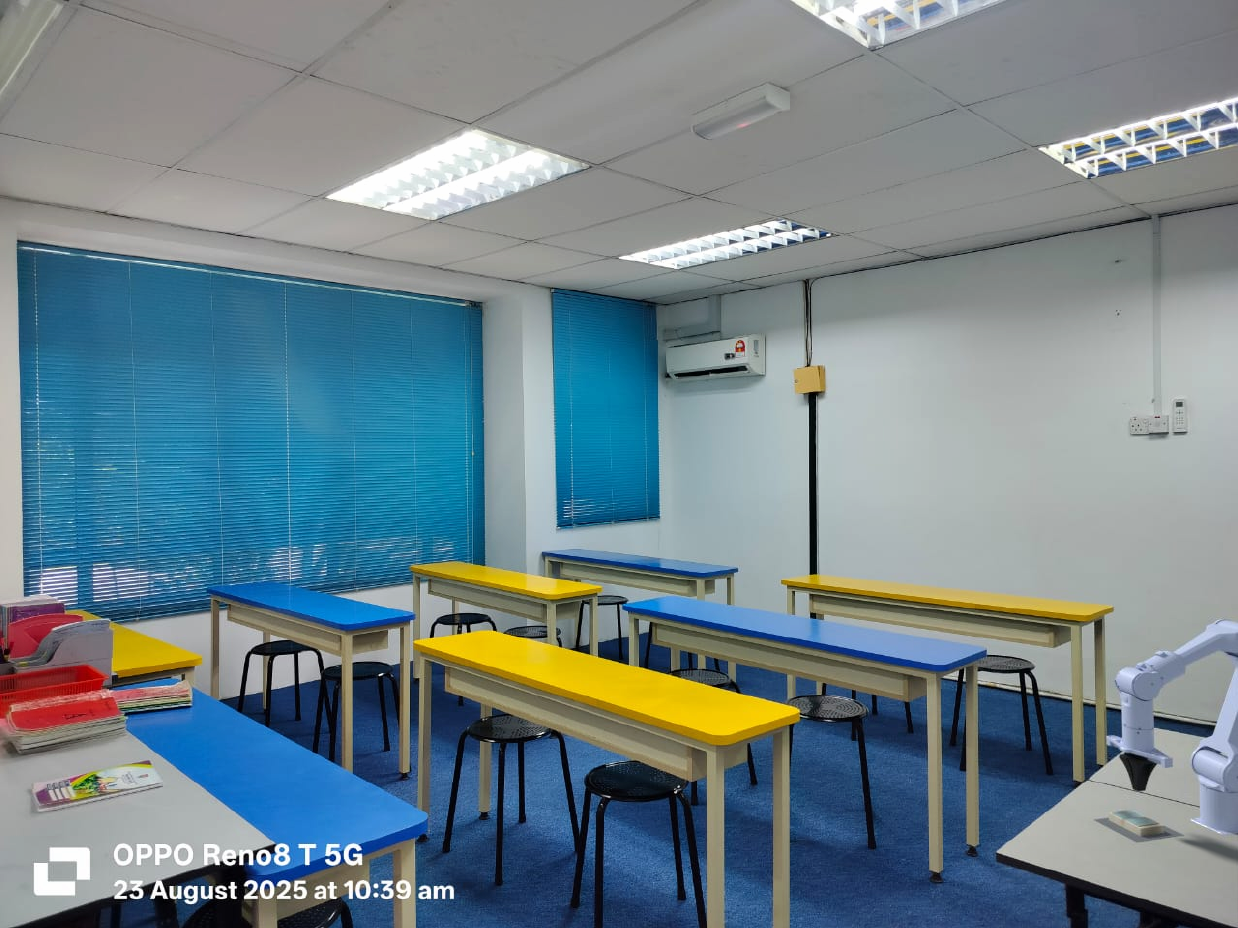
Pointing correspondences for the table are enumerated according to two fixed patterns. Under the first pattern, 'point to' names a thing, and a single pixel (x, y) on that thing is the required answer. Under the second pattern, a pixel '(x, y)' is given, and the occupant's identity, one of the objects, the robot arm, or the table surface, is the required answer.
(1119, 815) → the birch framed mirror
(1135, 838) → the rubber mat
